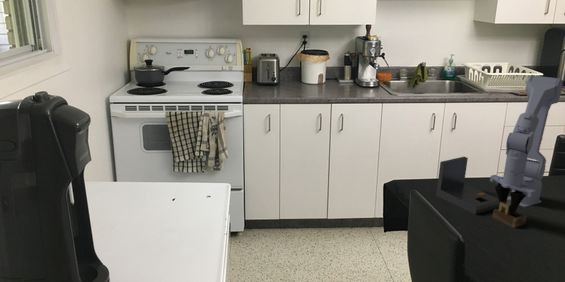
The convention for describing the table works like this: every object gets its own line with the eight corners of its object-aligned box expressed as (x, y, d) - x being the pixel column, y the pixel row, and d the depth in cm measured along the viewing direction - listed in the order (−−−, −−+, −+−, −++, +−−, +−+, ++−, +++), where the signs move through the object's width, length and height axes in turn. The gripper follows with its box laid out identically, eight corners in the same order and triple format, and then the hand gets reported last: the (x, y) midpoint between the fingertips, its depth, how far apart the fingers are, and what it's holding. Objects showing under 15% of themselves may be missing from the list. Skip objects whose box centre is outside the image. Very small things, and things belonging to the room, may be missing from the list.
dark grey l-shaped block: (459, 189, 179) (464, 156, 175) (499, 207, 165) (505, 172, 161) (436, 195, 173) (440, 161, 169) (475, 215, 159) (480, 178, 155)
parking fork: (503, 214, 160) (504, 206, 159) (525, 224, 154) (526, 216, 153) (492, 217, 158) (493, 209, 157) (514, 228, 151) (515, 219, 150)
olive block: (505, 215, 159) (508, 199, 157) (514, 219, 156) (517, 202, 154) (497, 218, 157) (499, 201, 155) (505, 222, 154) (508, 205, 152)
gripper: (486, 164, 155) (480, 203, 159) (527, 180, 143) (519, 221, 147) (500, 161, 159) (494, 199, 163) (542, 176, 147) (534, 216, 151)
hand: (507, 209), depth 155 cm, fingers closed on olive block, 3 cm apart
